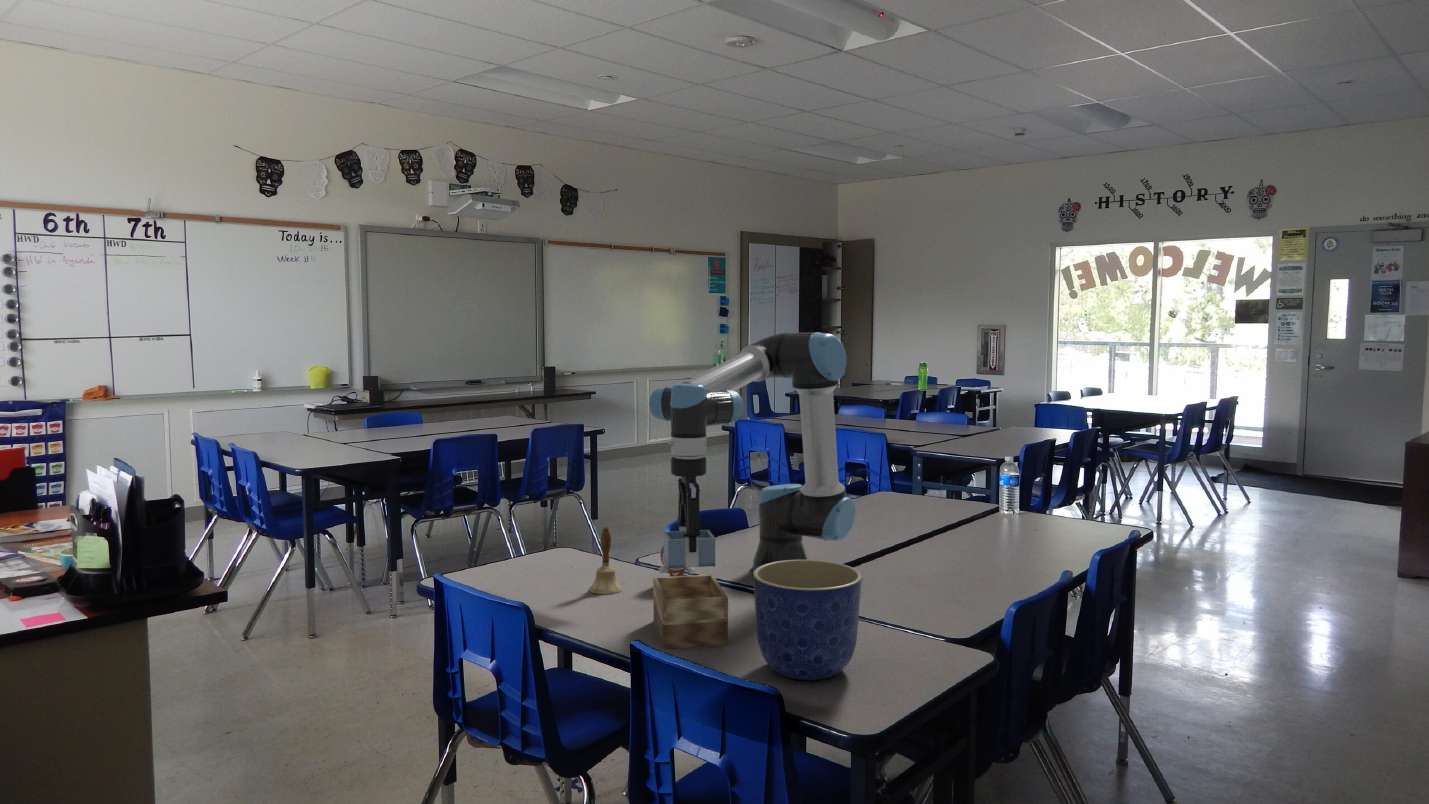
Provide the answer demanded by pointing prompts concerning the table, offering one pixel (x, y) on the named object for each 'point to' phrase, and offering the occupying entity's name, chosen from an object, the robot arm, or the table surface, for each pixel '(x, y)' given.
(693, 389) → the robot arm
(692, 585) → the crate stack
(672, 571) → the figurine
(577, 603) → the table surface
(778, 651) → the planter
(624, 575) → the table surface
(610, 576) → the hand bell
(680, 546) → the blue crate
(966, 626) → the table surface
